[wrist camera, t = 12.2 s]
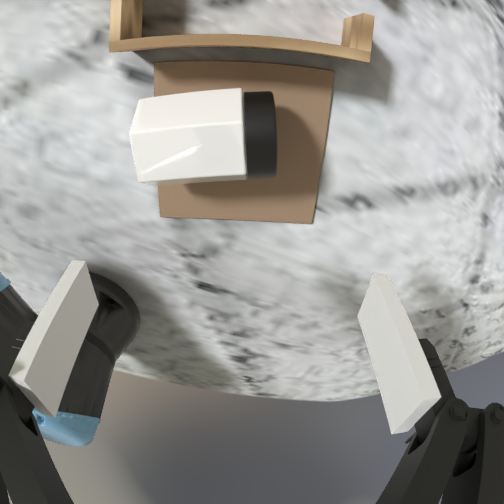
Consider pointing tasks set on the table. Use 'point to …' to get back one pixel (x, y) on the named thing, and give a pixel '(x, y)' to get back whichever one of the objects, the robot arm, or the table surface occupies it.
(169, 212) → the mat
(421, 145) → the table surface
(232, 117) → the jar
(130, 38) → the crate
